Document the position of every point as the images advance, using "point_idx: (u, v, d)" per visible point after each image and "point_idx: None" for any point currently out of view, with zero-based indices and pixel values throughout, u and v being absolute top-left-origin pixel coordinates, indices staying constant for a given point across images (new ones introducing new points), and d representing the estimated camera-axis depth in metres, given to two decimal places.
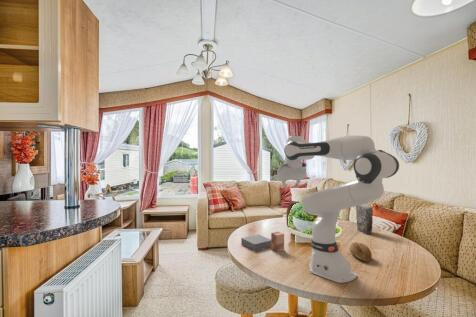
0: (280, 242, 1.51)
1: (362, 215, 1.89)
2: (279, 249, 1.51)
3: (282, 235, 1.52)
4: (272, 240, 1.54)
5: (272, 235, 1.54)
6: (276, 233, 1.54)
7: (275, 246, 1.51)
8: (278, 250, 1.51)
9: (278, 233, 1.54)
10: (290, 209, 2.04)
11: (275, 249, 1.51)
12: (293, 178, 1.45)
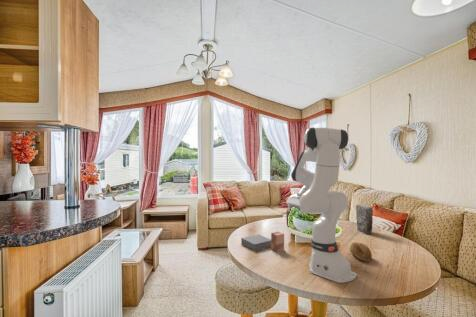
0: (280, 242, 1.51)
1: (362, 215, 1.89)
2: (279, 249, 1.51)
3: (282, 235, 1.52)
4: (272, 240, 1.54)
5: (272, 235, 1.54)
6: (276, 233, 1.54)
7: (275, 246, 1.51)
8: (278, 250, 1.51)
9: (278, 233, 1.54)
10: (290, 209, 2.04)
11: (275, 249, 1.51)
12: (296, 204, 1.63)
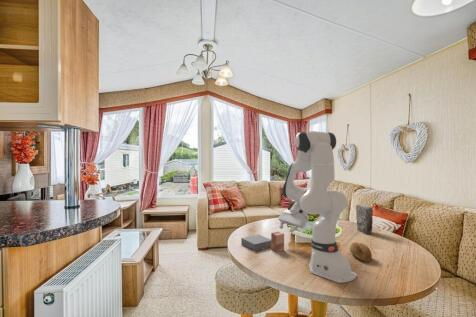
0: (280, 242, 1.51)
1: (362, 215, 1.89)
2: (279, 249, 1.51)
3: (282, 235, 1.52)
4: (272, 240, 1.54)
5: (272, 235, 1.54)
6: (276, 233, 1.54)
7: (275, 246, 1.51)
8: (278, 250, 1.51)
9: (278, 233, 1.54)
10: None
11: (275, 249, 1.51)
12: (288, 221, 1.59)
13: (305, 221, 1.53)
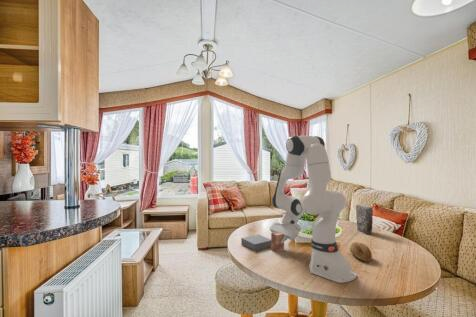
0: None
1: (362, 215, 1.89)
2: (279, 249, 1.51)
3: (282, 235, 1.52)
4: (272, 240, 1.54)
5: (272, 235, 1.54)
6: (276, 233, 1.54)
7: (275, 246, 1.51)
8: (278, 250, 1.51)
9: (278, 233, 1.54)
10: None
11: (275, 249, 1.51)
12: (279, 231, 1.55)
13: (296, 232, 1.49)
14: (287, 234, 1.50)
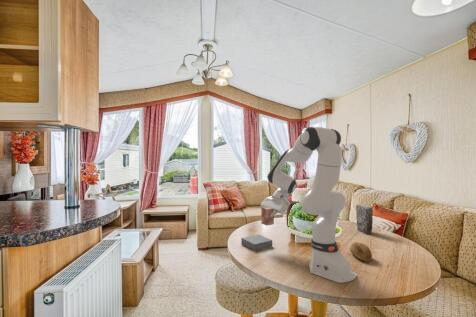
0: None
1: (362, 215, 1.89)
2: (269, 223, 1.55)
3: (272, 209, 1.56)
4: (262, 214, 1.58)
5: (262, 209, 1.58)
6: (266, 207, 1.58)
7: (265, 220, 1.55)
8: (268, 223, 1.55)
9: (268, 207, 1.58)
10: (290, 209, 2.04)
11: (265, 223, 1.55)
12: (269, 206, 1.59)
13: (286, 206, 1.53)
14: (276, 208, 1.54)
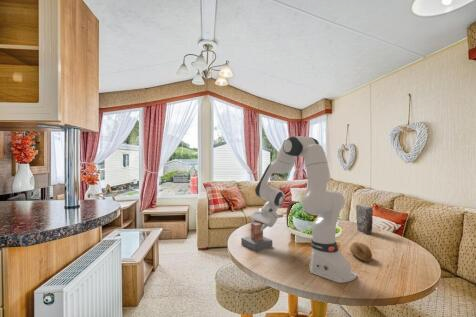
0: (258, 231, 1.59)
1: (362, 215, 1.89)
2: (258, 238, 1.59)
3: (261, 225, 1.60)
4: (251, 230, 1.61)
5: (251, 225, 1.61)
6: (255, 223, 1.61)
7: (254, 235, 1.59)
8: (257, 239, 1.58)
9: (257, 223, 1.61)
10: (290, 209, 2.04)
11: (254, 238, 1.59)
12: (259, 219, 1.63)
13: (274, 220, 1.57)
14: (265, 221, 1.57)
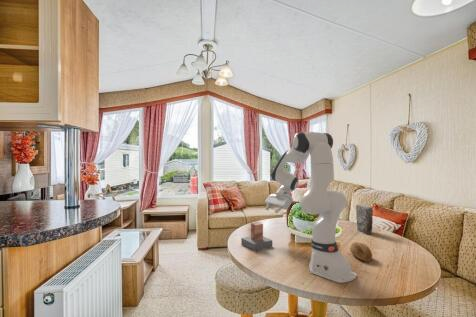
0: (258, 231, 1.59)
1: (362, 215, 1.89)
2: (258, 238, 1.59)
3: (261, 225, 1.60)
4: (251, 230, 1.61)
5: (251, 225, 1.61)
6: (255, 223, 1.61)
7: (254, 235, 1.59)
8: (257, 239, 1.58)
9: (257, 223, 1.61)
10: (290, 209, 2.04)
11: (254, 238, 1.59)
12: (273, 202, 1.69)
13: (289, 202, 1.64)
14: (280, 204, 1.64)
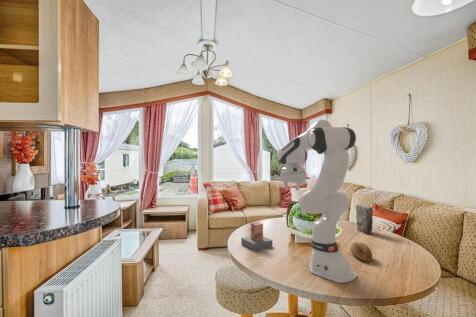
0: (258, 231, 1.59)
1: (362, 215, 1.89)
2: (258, 238, 1.59)
3: (261, 225, 1.60)
4: (251, 230, 1.61)
5: (251, 225, 1.61)
6: (255, 223, 1.61)
7: (254, 235, 1.59)
8: (257, 239, 1.58)
9: (257, 223, 1.61)
10: (290, 209, 2.04)
11: (254, 238, 1.59)
12: (289, 181, 1.65)
13: (303, 176, 1.58)
14: (297, 181, 1.59)
